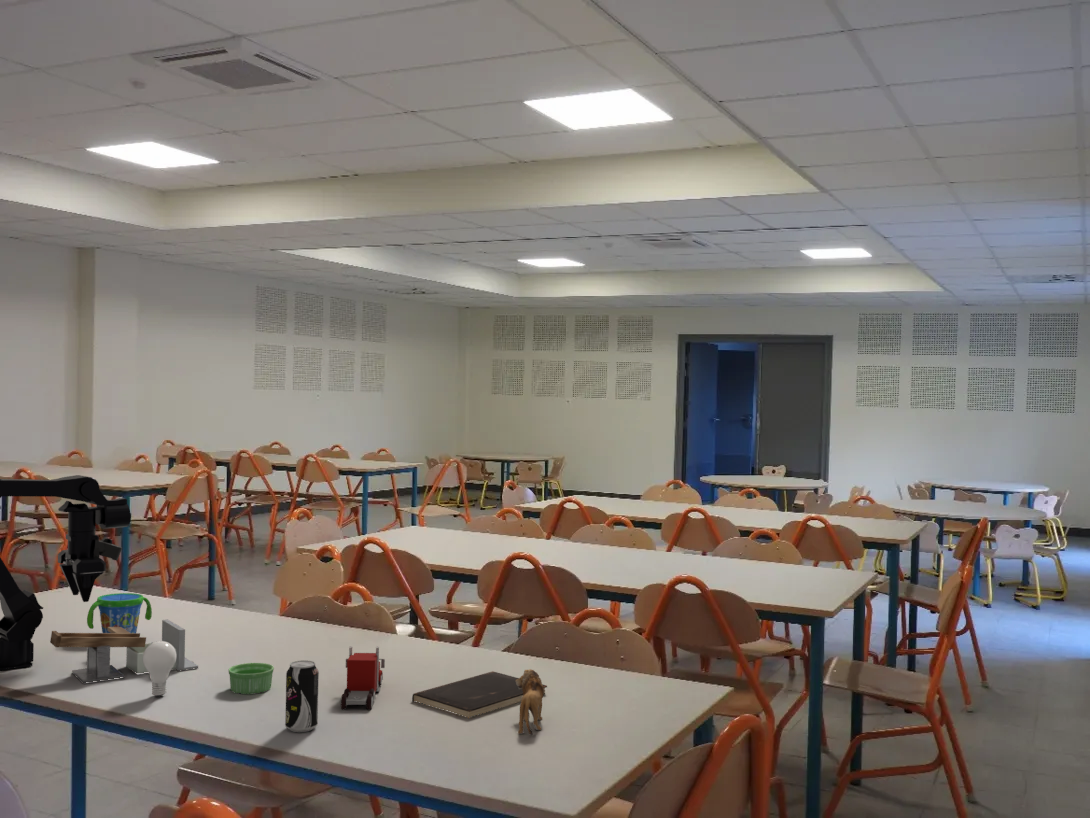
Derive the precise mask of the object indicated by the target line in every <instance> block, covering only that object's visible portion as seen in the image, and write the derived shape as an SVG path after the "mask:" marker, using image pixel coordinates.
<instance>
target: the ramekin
mask: <svg viewBox="0 0 1090 818" xmlns="http://www.w3.org/2000/svg"><path fill="white" fill-rule="evenodd" d="M274 669H275V667H274V665H272V664H270V663H263V662H247V663H245V662H244V663H239V664H235V665H233V666H231V667H229V668H228V676H229V683H230V691H231V692H232V691H233V692H232V693H234V692H235V694H238V693H241V694H240V695H255V694H254V693H257V694H261V693H260V692H262V693H265V692H267V690H268V691H270V690H271V688H272V683H273V672H274ZM264 691H265V692H264Z"/></svg>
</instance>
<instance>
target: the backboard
mask: <svg viewBox="0 0 1090 818" xmlns="http://www.w3.org/2000/svg"><path fill="white" fill-rule="evenodd" d="M161 622H162V623H161V641H165V642H168V643H170V644H171V645H172V646H173V647H174V648H176V654H177V658H176V669H177V671H178V670H179V671H178V672H181V671H180V670H185V671H187V670H186V669H192V670H194V669H193V668H198V669H199V665H197V663H195V662H193V661H192V660H190V659H188V658H187V657H186V655H185V652H186V629H185V628H184V627H182V626H180V625H178V624H176V623H174V622H173V621H172V620H169V619H161ZM176 669H175V670H176Z"/></svg>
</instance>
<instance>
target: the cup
mask: <svg viewBox="0 0 1090 818" xmlns="http://www.w3.org/2000/svg"><path fill="white" fill-rule="evenodd" d="M152 643H153V642H149V643H145V647H126V654H125V655H126V657H125V658H126V659H125V662H126V663H125V666H127V667H126V668H127V669H129V668H130V669H131V670H133V671H134V672H136V673H144V672H148V671H147V669H146V668H145V666H144V664H143V653H144V651H145V649H146V648H147V647H148V646H149V645H150V644H152ZM175 650H176V648H175ZM130 669H129V670H130ZM172 669H175V670H176V662H175V664H174V666H173V667H172ZM131 670H130V671H131ZM133 671H132V672H133ZM134 672H133V673H134Z"/></svg>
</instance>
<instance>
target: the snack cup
mask: <svg viewBox="0 0 1090 818" xmlns="http://www.w3.org/2000/svg"><path fill="white" fill-rule="evenodd" d="M143 602H145V604H146V610H145V614H144V619H145V620H146V621H150V620H151V619H152V615H153V612H152V610H153V609H152V605H151V604H152V603H151V602H150V600H149V599H148V598H147V597H146V596H144V595H143V594H141V593H132V592H126V593H124V592H120V593H107V594H102V595H99V596H97V599H96V601H95V602H93V603H92V604H91V606H90V608H89V609H88V612H87V618H86V624H87V626H88V628H89V629H94V614H95V613H94V611H95V610H96V608H97V607H98V611H99V618H100V625H101V633H110V632H109V631H107V629H108V627H122V628H124V629H125V630H127V631H128V632H129V633H138V632H137V631H138V625H139V621H140V614H141V608H142V606H143Z"/></svg>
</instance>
